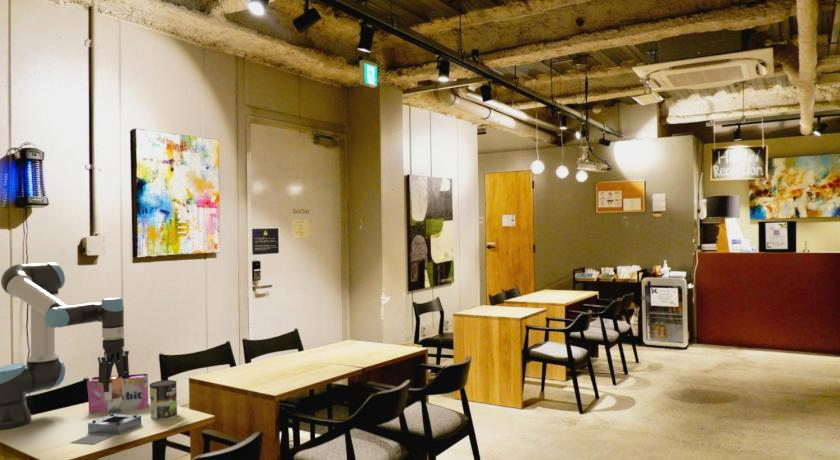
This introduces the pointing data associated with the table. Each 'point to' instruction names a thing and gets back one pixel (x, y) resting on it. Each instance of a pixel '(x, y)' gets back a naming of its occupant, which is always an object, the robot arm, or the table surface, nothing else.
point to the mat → (92, 439)
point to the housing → (114, 424)
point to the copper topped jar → (115, 395)
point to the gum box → (132, 396)
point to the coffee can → (163, 399)
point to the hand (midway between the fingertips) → (114, 397)
